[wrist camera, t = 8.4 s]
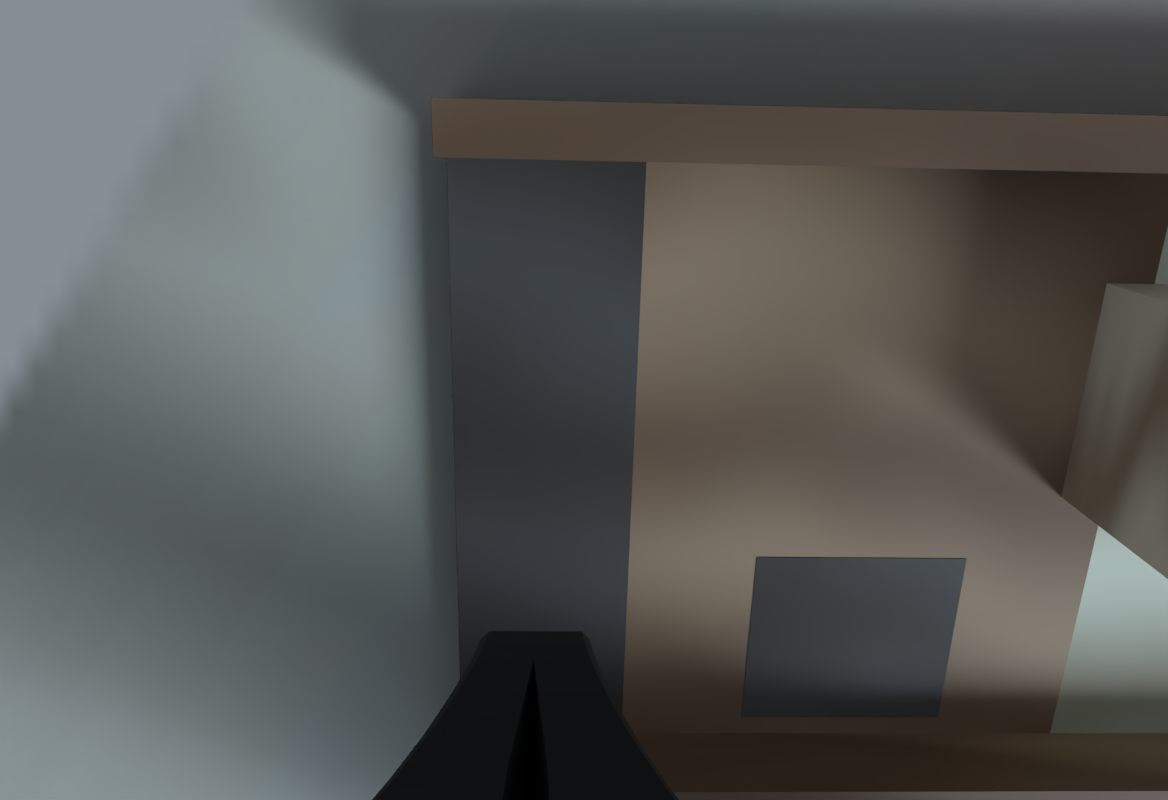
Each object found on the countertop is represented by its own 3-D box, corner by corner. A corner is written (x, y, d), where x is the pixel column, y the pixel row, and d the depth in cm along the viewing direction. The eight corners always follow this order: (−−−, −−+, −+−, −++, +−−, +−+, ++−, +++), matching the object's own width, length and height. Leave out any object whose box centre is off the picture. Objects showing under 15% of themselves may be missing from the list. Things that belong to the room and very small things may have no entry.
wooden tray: (1309, 738, 24) (1412, 823, 21) (466, 739, 23) (453, 827, 20) (1522, 125, 19) (1695, 128, 16) (450, 99, 18) (430, 97, 15)
